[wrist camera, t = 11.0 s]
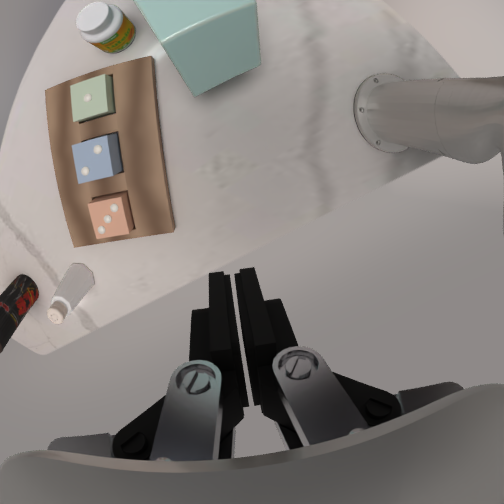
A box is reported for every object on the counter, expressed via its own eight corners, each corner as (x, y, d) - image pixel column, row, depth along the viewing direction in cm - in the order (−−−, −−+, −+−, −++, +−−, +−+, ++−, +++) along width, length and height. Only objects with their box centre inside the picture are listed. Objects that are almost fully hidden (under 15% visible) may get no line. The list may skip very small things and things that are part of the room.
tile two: (117, 133, 31) (106, 135, 27) (123, 170, 33) (112, 176, 29) (84, 142, 30) (71, 145, 27) (90, 177, 33) (77, 184, 29)
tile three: (129, 189, 36) (120, 197, 32) (136, 223, 38) (128, 234, 34) (98, 195, 35) (86, 204, 31) (106, 228, 37) (96, 239, 34)
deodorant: (16, 269, 38) (-27, 317, 24) (39, 282, 39) (0, 335, 26) (15, 293, 39) (-22, 342, 26) (38, 305, 41) (4, 359, 28)
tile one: (115, 78, 28) (104, 73, 25) (118, 112, 31) (107, 111, 27) (83, 88, 28) (69, 85, 24) (85, 121, 30) (72, 121, 26)
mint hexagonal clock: (220, 38, 32) (287, 83, 21) (173, 62, 33) (208, 121, 22) (173, -50, 17) (217, -84, 7) (118, -23, 18) (106, -38, 8)
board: (154, 59, 28) (151, 55, 27) (175, 227, 39) (173, 232, 37) (52, 90, 27) (45, 90, 25) (79, 242, 38) (74, 247, 36)
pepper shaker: (84, 257, 39) (55, 296, 29) (100, 285, 41) (77, 328, 32) (62, 268, 39) (32, 306, 29) (77, 294, 41) (53, 335, 32)
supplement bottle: (116, 60, 27) (88, 44, 19) (92, 43, 25) (61, 25, 17) (144, 31, 26) (124, 7, 18) (119, 14, 24) (95, -11, 15)
